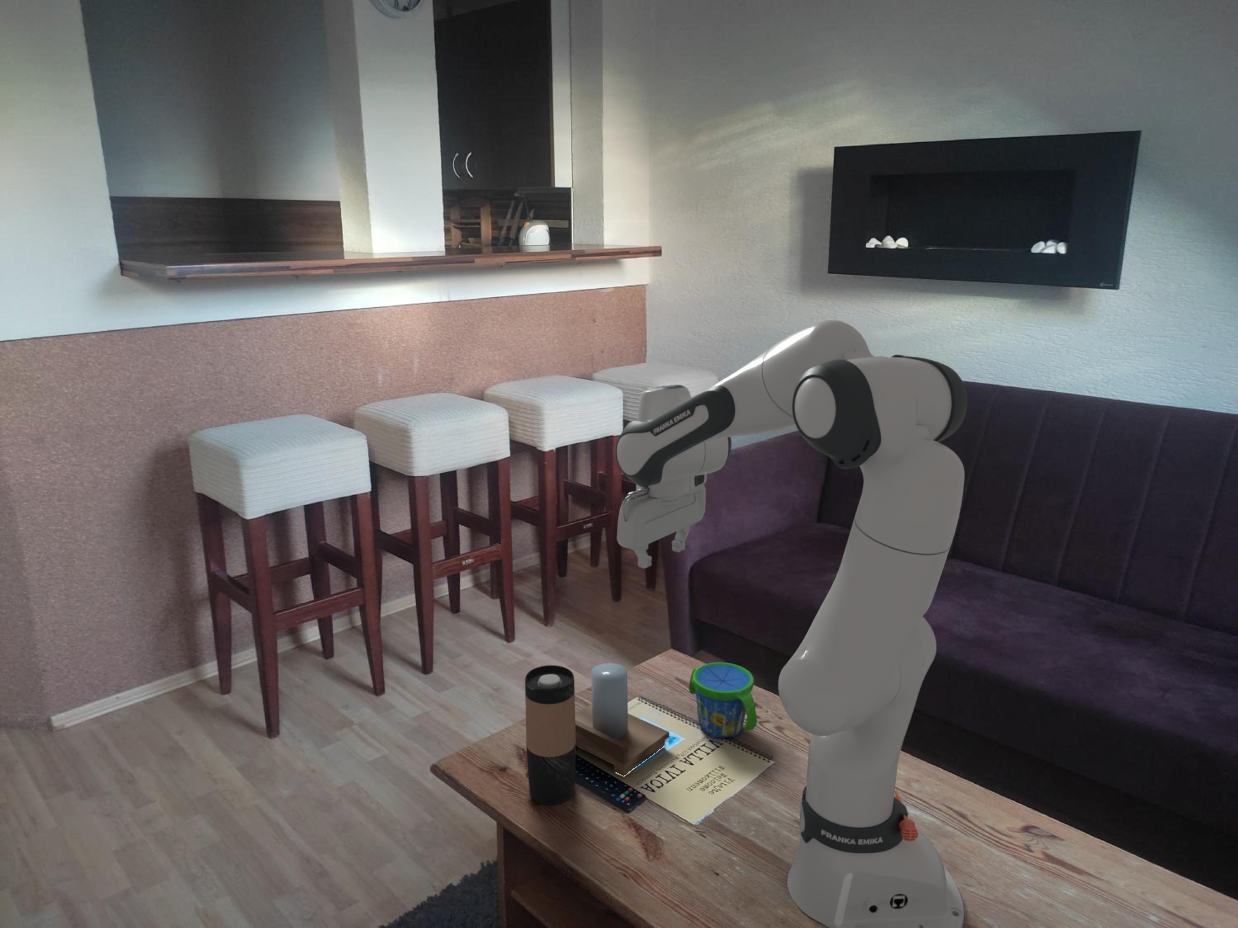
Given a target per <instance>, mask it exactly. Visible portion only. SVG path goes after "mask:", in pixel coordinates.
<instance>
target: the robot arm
mask: <svg viewBox="0 0 1238 928" xmlns="http://www.w3.org/2000/svg"><path fill="white" fill-rule="evenodd" d="M690 392H691V391H689V388H688V387H687V386H685V385H681V384H668V385H658V386H650V387H648V388H645V389H644V390H643V391H642V392H641V394H640V397H639V401H638V407H637V417H636V420H632V421H630V422H628V423H627V425H626V426H625V427H624V429H623V430H622V431H621V433H620V435H619V436H618V440H617V442H616V446H615V459H616V463H617V465H618V467H619V470H620V471H621V472H622V473H623V475H624V476H625V477H626V478H627V479H629V480H630V481H631V482H632V483H634V484H635V491H633V490H632V491H630V492H628V493H627V495H626V497H625V498H624V500H623V501H622V502H621V506H620V507H619V508H620V509H619V514H618V518H617V528H616V529H617V533H616V541H617V543H618V544H619V546H621V547H622V548H626V549H630V550H633V551H634V553H635V555H636V557H637V566H638V567H639V568H642V569H647V568H649V567H651V566H652V565H653V564H652V561H653V560H652V556H650V555H648V552H647V550H648V549H649V544H651V543H653V542H656V541H658V540H661V539H662V538H665V537H667V536H669V535H672V534H674V533H676V534H675V537H674V540H671V550H672V551H673V552H675V553H680V552H682V551H685V549H686V541H687V538H688V535H689V533H690V528H691V527H690V526H692V525H694V524H696V523H699V522H701V521H702V520H703V518H704V515H705V512H706V504H707V503H706V496H707V495H706V494H707V493H706V492H707V491H706V486H705V484H706V483H707V479H708V474H712V473H715V472H717V471H720V470H722V469H723V468H725V466H726V465H727V463H728V461H729V459H730V457H731V454H732V437H741V436H751V435H762V434H769V433H770V434H771V433H777V432H782V431H785V430H791V429H794V428H796V429H797V430H798V431H799V434H800V435H801V436H802V438H803V439H804V440H805V441H806V442H807V444H809V445H810V446H811V447H812V448H814V449H815V450H816V451H817V452H819V453H822V454H823V455H826V456H828V457H829V458H830V460H832V462H834V464H835V465H836V466H837V467H839V468H840V469H843V470H850V469H852V470H853V469H855V468H858V467H859V468H860V470H861V472H862V477H863V486H862V491H861V495H860V499H859V502H858V505H857V509H856V512H855V515H854V518H853V522H852V525H851V528H850V532H849V536H848V539H847V542H846V545H845V549H844V551H843V555H842V559H841V563H840V565H839V568H838V571H837V573H836V577H835V579H834V581H833V583H832V585H831V587H830V589H829V591H828V593H827V594H826V597H825V598H824V600H823V602H822V604H821V606H820V607H819V609H818V611H817V614H816V615H815V617H814V619H813V621H812V623H811V625H810V627H809V628H808V631H807V633H806V634H805V636H804V638H803V640H802V642H801V643H800V644H799V647H798V648H797V649H796V651H795V652H794V654H793V655H792V656H791V657H790V659H789V660H788V661H787V662H786V664H785V665H784V666H783V668H782V669H781V671H780V673H779V677H778V685H777V688H778V695H779V699H780V702H781V704H782V706H783V708H784V710H785V712H786V714H787V716H788V717H789V719H790V720H792V722H794V724H795V725H797V726H798V727H799V728H800V729H802V730H803V731H804V732H807V733H809V734H811V736H810V740H809V743H808V744H809V745H808V754H807V755H808V756H807V757H808V758H807V770H806V782H805V783H806V785H805V786H804V789H803V791H802V797H801V802H800V809H799V832H800V837H799V842H798V848H797V849H796V850H797V851H796V855H795V856H794V860H793V863H792V865H791V868H790V869H789V871H788V874H787V879H786V883H787V890H788V893H789V895H790V897H791V898H792V900H793V902H794V903H795V905H796V906H797V907H798V908H799V909H800V910H801V911H802V912H804V914H806V915H807V916H808V917H810V918H812V919H813V920H815V921H816V922H819V923H820V924H822V925H824V926H826V927H828V928H963V927H964V920H965V911H964V909H965V908H964V905H963V904H964V903H963V900H962V896H961V893H960V891H959V888H958V886H957V883H956V882H955V879H954V878H953V876H952V874H951V873H950V872H949V870H948V869H947V868H946V867H945V865H944V864H943V861H942V858H941V856H940V854H939V852H938V850H937V848H936V846H935V845H934V843H933V842H932V840H931V839H930V838H929V837H928V836H927V835H926V834H925V833H924V832H922V831H920V830H918V829H917V827H916V823H915V822H914V820H911V819H908V818H909V812H908V809H907V807H906V805H905V804H904V803H903V802H902V800H901V796H900V795H899V793H898V792H897V791H896V783H897V774H898V765H899V759H900V755H901V750H902V746H903V744H904V739H905V738H906V737H905V736H906V734H907V730H908V728H909V725H910V722H911V720H912V715H913V712H914V710H915V706H916V702H917V699H918V696H919V694H920V693H919V692H920V690H921V687H922V684H923V681H924V679H925V678H926V677H925V676H926V675H927V673H928V671H929V669H930V667H931V666H932V664H933V662H934V660H935V657H936V654H937V639H936V636H935V633H934V631H933V629H932V626H931V625H930V624H929V622H928V621H927V619H926V618H925V617H924V615H925V614H927V611H928V610H929V609H930V607H931V604H932V602H933V599H934V596H935V593H936V591H937V587H938V584H939V581H940V578H941V576H942V573H943V570H944V567H945V565H946V564H945V563H946V560H947V558H948V554H949V552H950V549H951V546H952V544H953V539H954V536H955V533H956V530H957V526H958V522H959V519H960V512H961V507H962V502H963V501H962V500H963V494H964V484H965V477H966V476H965V469H964V468H965V467H964V465H963V462H962V460H961V459H960V456H958V454H956V452H955V451H953V450H952V449H950V448H949V447H948V446H947V445H945V444H942V441H944V440H946V439H947V438H949V437H951V435H954V433H956V431H958V429H959V428H960V427H961V425H962V424H963V422H964V420H965V418H966V415H967V414H966V413H967V408H968V396H967V395H968V394H967V389H966V387H965V384H964V382H963V380H962V378H961V376H960V375H959V374H958V373H957V372H956V371H955V370H954V369H953V368H951V367H950V366H948V365H946V364H944V363H942V362H939V361H937V360H933V359H928V358H926V357H925V358H924V357H919V356H909V355H902V354H893V355H892V356H891V357H887V356H881V355H880V356H875V355H873V354H872V352H871V351H870V349H869V347H868V344H867V342H866V340H865V338H864V337H863V335H862V334H861V333H860V332H859V331H858V330H857V329H856V328H855V327H854V326H852V325H850V324H848V323H846V322H844V321H841V320H836V319H831V320H829V319H828V320H823V321H819V322H817V323H814V324H812V325H809V326H806V327H804V328H802V329H800V330H797V331H795V332H794V333H792V334H789V335H788V336H786V337H784V338H783V339H782V340H780V341H779V342H777V343H775V344H774V345H772V346H771V347H769V348H768V349H767V350H765V351H764V352H762V353H761V354H759V355H757V356H756V357H755V358H754V359H752V360H751V361H749V362H748V363H747V364H745V365H743V366H742V367H740V368H739V369H737V370H736V371H734V372H732V373H731V374H730V375H728V376H726V377H725V378H724V377H723V379H721V380H720V381H718V382H716V383H715V384H713V385H712V386H710V387H709V388H706V389H705V390H703V391H702V392H700V393H698V394H696V395H694V396H692V395H691V393H690Z"/></svg>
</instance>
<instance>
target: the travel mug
mask: <svg viewBox="0 0 1238 928" xmlns="http://www.w3.org/2000/svg"><path fill="white" fill-rule="evenodd" d="M526 673H527V674H526V675H525V677H524V689H525V690H524V695H525V697H524V698H525V699H524V700H525V703H524V704H525V741H526V742H525V744H526V760H527V772H528V773H527V776H528V778H527V779H528V789H529V795H530V797H531V798H532V799H533V800H534V801H535V802H537V803H539V804H542V805H545V806H546V805H547V806H548V805H549V806H554V805H559V804H563V803H565V802H567V801H569V800H570V799H571V798H572V797H573V795H574V794H575V793H574V792H575V787H576V786H575V785H576V752H577V751H576V748H577V746H576V729H575V714H576V699H575V698H576V697H575V694H576V693H575V692H576V691H575V690H576V689H575V675H574V673H573V671H572V670H570V669H569V668H567V667H564V666H563V665H562V666H561V665H556V664H555V665H553V664H552V665H551V664H550V665H549V664H546V665H541V666H538V667H534V668H533V669H531V670H529V671H528V672H526Z"/></svg>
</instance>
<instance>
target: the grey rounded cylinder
mask: <svg viewBox="0 0 1238 928" xmlns="http://www.w3.org/2000/svg"><path fill="white" fill-rule="evenodd" d="M590 677H591V678H590V679H591V682H590V683H591V704H592V723H593V729H595V730H598V731H600V732H602V733H604V734H606V735H608V736H610V737H612V738H614V739H620V738H622V737H624V736H625V735H626V734H627V732H628V714H629V709H628V708H629V706H628V705H629V704H628V702H629V701H628V698H629V697H628V695H629V693H628V691H629V690H628V669H627V668H626V667H625V666H624V665H622V664H619V663H613V662H606V663H605V662H604V663H601V664H598V665H595V666H594V667H593V668H592V669H591V672H590Z"/></svg>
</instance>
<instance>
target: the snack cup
mask: <svg viewBox="0 0 1238 928" xmlns="http://www.w3.org/2000/svg"><path fill="white" fill-rule="evenodd" d="M754 683H755V679H754V676H753V675H752V673H751V672H750V671H749V670H748V669H746V668H744V667H743V666H740V665H739V664H738V665H737V664H734V663H729V662H710V663H706V664H705V663H704V664H703V665H701V666H699V667H695V668H693V670H692V673H691V675H690V679H689V683H688V691H689V693H690V694H691V695H695V699H696V701H695V702H696V709H697V716H698V717H697V718H698V724H699V728H700V729H702V731H703V733H706V734H708V735H709V736H711V737H712V738H716V739H717V738H724V739H726V738H731V737H733V738H734V737H736V736H737V735H738V734H739V733H740V732H741V730H742V729H743V726H744V729H743V731H745V732H747V733H748V732H750V731H752V730H753V729H754V728H756V726H757V723H758V716H757V712H756V711H757V710H756V704H755V700H754V697H753V694H752V693H751V692H752V691H753V688H754ZM746 716H747V717H746ZM745 717H746V721H745ZM744 722H745V725H744Z"/></svg>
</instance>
